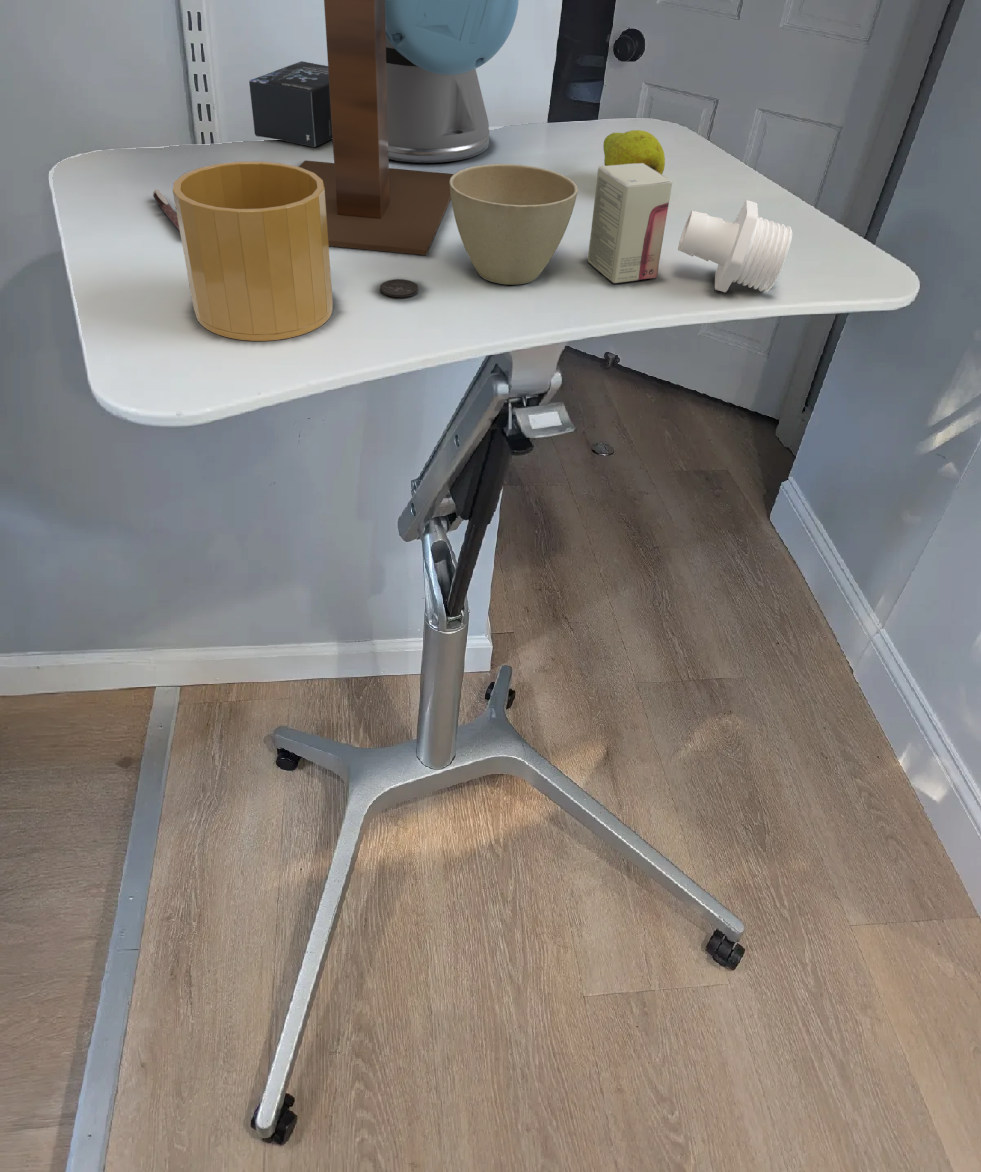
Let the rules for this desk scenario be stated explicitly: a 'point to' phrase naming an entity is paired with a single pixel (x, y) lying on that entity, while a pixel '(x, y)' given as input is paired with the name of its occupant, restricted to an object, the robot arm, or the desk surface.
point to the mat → (389, 212)
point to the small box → (628, 221)
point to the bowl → (511, 218)
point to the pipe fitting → (738, 247)
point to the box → (293, 104)
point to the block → (358, 105)
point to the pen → (166, 207)
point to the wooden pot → (255, 249)
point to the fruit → (634, 150)
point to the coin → (399, 288)
